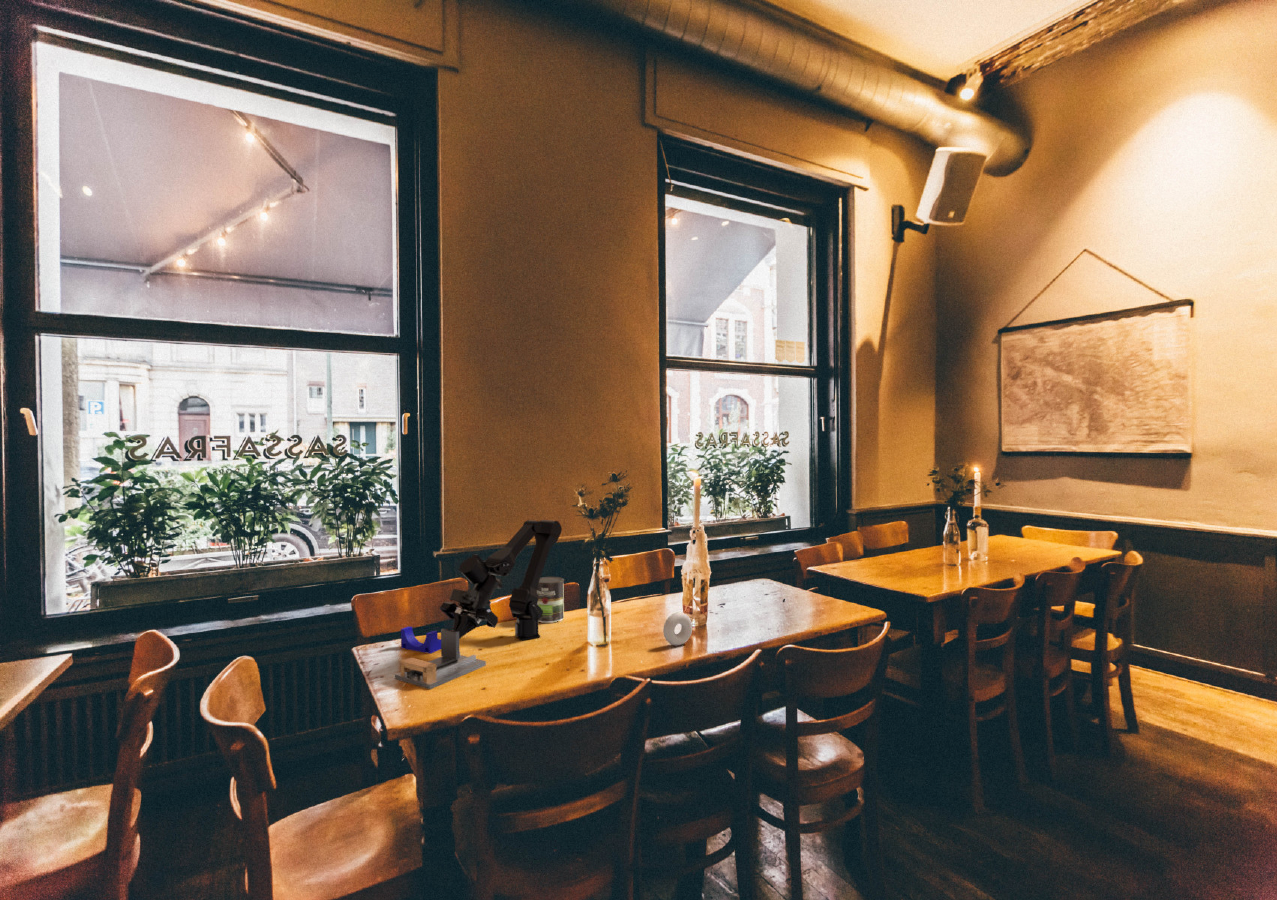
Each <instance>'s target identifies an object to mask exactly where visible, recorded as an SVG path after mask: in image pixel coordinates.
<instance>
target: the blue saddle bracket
mask: <svg viewBox="0 0 1277 900" xmlns="http://www.w3.org/2000/svg"><path fill="white" fill-rule="evenodd" d="M413 631H414V630H413V627H412V626H405V627H403V628H400V645H401V646H400V647H401V649H403V648H405V649H404V650H409V651H415V652H419V651H420V652H421V653H426V654H429V655H430V654H432V653H433V654H434V653H435V652H438V651H439V650H440V651H441V638H439V637H438V630H431V631H429V632H426V633H425V639H424V641H423V642H420V641H419V640H418V639H417V638H416V636H415V634H414V632H413ZM420 652H419V653H420Z"/></svg>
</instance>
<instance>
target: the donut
mask: <svg viewBox="0 0 1277 900" xmlns="http://www.w3.org/2000/svg"><path fill="white" fill-rule="evenodd" d="M677 625H680V626H681V627H680V628H681V629H680V631H679V632H678V633H676V632H675V629H676V626H677ZM662 631H663V637H664V640H665V641H666V642H667V643H668V644H670V645H672V646H681V645H683V644H685V643H686V642H687V641H688V640H689V639H690V638H691V635H692V632H693V622H692V620H691V618H690V616H689V615H688V614H686V613H684V612H680V611H679V612H674V613H672V614H671V615H669V616H668V617H667V618H666V620H665V622H664V624H663V630H662Z"/></svg>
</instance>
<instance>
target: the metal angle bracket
mask: <svg viewBox="0 0 1277 900" xmlns="http://www.w3.org/2000/svg"><path fill="white" fill-rule="evenodd" d="M440 639H441V649H440V652H441V653H440V654H441V656H440V658H439V657H437V658H438V659H436V658H434V659H435V660H434V659H432V660H433V661H431V660H429V661H430V663H434V664H436V670H437V669H439V668H442V667H444V666H447V665H449V664H452V663H454V662H457V661H458V659H459V658H460V655H461V651H460V639H459V631H455V630H453V629H450V628H449V629H448V628H441V629H440ZM459 651H460V652H459ZM442 656H443V657H442ZM417 673H420V674H423V672H421V671H417Z"/></svg>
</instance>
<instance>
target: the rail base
mask: <svg viewBox="0 0 1277 900" xmlns="http://www.w3.org/2000/svg"><path fill="white" fill-rule="evenodd" d="M459 652H460V653H461V651H460V650H459ZM440 657H443V656H440ZM440 657H437V658H434V659H431V660H429V661H426V660H422V659H419V658H414V657H407V658H404V659H402V660H400V662H399V663H400V672H397V673H394V680H397V681H401V682H405V683H408V684H411V685H414V686H416V687H417V686H418V687H421V688H424V689H428V690H433V689H435V688H437V687H439V686H441V685H444V684H446V683H448V682H450V681H453V680H455V679H457V678H460V677H462V676H465V675H467V674H469V673H471V672H474V671H476V670H478V669H480V668H483V667H485V666H486V664H487V661H486V660H483V659H479V658H477V655H476V654H472V655H470V656H466V655H462V654H460V658H459V659H458V661H457V662H454V663H452V664H449V665H447V666H444V667H442V668H439V669H437V670H436V664H434V663H430V661H433V660H435V659H438V658H440ZM417 671H421V672H423V674H420V673H417ZM434 687H435V688H434Z"/></svg>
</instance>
